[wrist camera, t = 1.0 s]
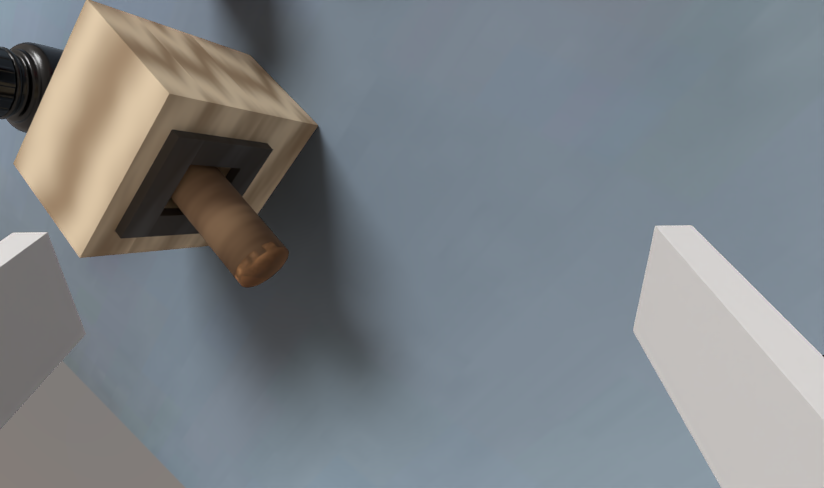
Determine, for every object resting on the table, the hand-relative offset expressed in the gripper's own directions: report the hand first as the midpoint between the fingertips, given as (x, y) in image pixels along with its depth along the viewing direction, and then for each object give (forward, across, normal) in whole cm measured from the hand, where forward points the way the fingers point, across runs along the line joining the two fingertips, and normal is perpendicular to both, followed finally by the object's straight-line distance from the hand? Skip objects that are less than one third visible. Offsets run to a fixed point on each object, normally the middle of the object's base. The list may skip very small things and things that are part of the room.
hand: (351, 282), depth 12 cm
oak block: (+38, -15, -9) cm, 41 cm away
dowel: (+29, -15, -9) cm, 34 cm away
